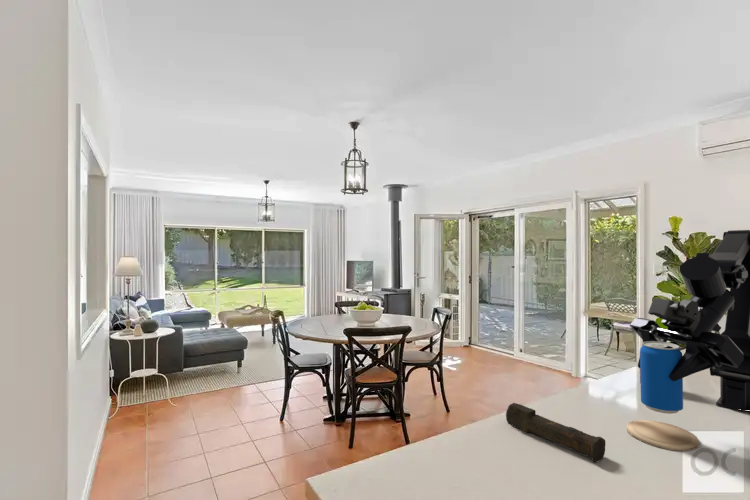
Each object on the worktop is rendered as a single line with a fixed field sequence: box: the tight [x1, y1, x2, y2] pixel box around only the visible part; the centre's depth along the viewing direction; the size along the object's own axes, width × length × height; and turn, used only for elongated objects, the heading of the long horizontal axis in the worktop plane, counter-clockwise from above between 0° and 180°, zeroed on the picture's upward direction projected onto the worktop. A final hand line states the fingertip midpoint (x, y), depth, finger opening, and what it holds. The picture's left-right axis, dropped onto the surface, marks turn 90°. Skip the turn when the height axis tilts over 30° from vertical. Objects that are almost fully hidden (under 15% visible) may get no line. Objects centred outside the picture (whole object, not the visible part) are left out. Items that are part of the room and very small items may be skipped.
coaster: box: [626, 419, 700, 452], centre depth 75 cm, size 11×11×1 cm
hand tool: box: [505, 402, 606, 463], centre depth 75 cm, size 19×4×5 cm, turn 32°
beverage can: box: [639, 341, 684, 415], centre depth 75 cm, size 6×6×12 cm
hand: (654, 373), depth 75 cm, fingers closed on beverage can, 6 cm apart
